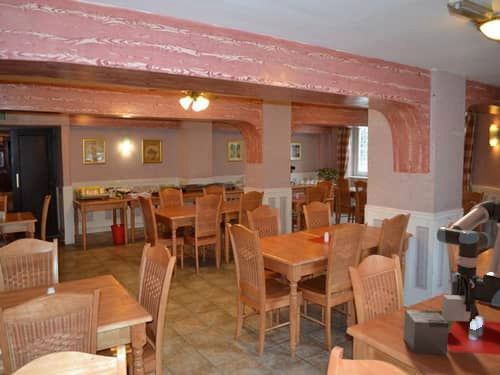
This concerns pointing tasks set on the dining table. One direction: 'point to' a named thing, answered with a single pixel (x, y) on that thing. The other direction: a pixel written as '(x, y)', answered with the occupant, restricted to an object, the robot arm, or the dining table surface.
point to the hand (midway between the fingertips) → (463, 315)
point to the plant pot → (447, 321)
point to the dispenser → (426, 332)
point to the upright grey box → (453, 308)
